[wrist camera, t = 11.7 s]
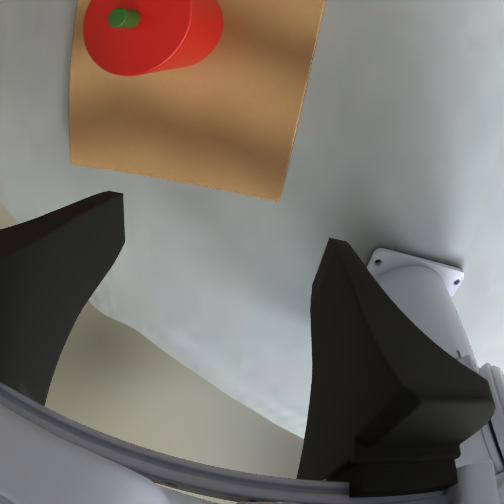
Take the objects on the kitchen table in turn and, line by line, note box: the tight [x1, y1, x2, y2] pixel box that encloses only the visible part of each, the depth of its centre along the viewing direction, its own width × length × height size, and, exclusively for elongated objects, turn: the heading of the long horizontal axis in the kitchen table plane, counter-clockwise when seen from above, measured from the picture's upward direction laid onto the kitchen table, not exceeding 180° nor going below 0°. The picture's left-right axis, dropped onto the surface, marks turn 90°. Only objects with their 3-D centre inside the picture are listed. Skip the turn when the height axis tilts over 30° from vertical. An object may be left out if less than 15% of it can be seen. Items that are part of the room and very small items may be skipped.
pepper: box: [83, 0, 223, 76], centre depth 11 cm, size 5×5×6 cm
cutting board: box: [69, 0, 325, 202], centre depth 14 cm, size 18×14×2 cm
